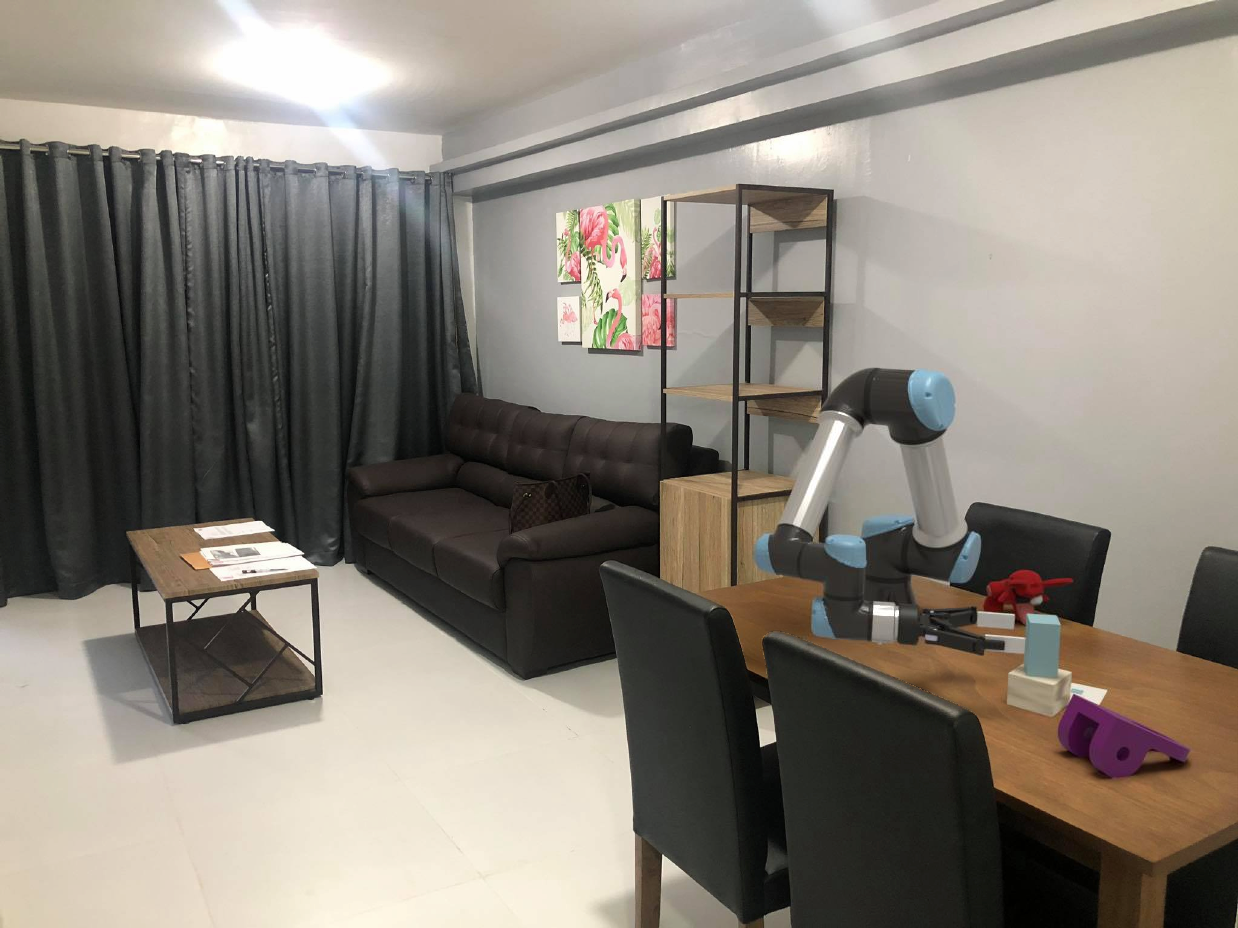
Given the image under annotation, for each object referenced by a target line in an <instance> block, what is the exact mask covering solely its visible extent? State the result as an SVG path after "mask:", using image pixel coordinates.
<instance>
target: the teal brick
mask: <svg viewBox="0 0 1238 928" xmlns="http://www.w3.org/2000/svg"><path fill="white" fill-rule="evenodd" d="M1061 626H1062V624H1061V623H1060V620H1059V618H1058V616H1057V615H1056V614H1042V613H1041V614H1037V613H1034V614H1027V615H1026V625H1025V634H1024V635H1025V637H1024V638H1025V651H1024V654H1023V655H1024V656H1023V663H1024V668H1025V671H1026V674H1027V676H1030V677H1042V678H1055V679H1058V669H1059V662H1060V661H1059V660H1060V643H1061V629H1062V627H1061Z"/></svg>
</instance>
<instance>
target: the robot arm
mask: <svg viewBox="0 0 1238 928" xmlns="http://www.w3.org/2000/svg"><path fill="white" fill-rule="evenodd" d="M955 404H956V396H955V390H954V387H953V384H952V382H951V380H950V379H949V378H948V376H946V374H944V373H942V372H940V371H938V370H936V371H935V370H928V369H926V368H920V369H919V368H917V369H902V368H901V369H900V368H883V367H882V368H880V367H867V368H864V369H860V370H857V371H855V372H854V373H852V374H850V375H849V376H847V377H846V378H845V379H843V380H842V381H841V382H840V383H839V384H838V385H837V386H836V387H835V388H834V389H833V390H832V391H831V393H830V394H829V395H828V396H827V397H826V400H825V401H824V402H823V404H822V405H821V408H820V411H819V412H818V415H817V419H816V420H817V423H818V425H819V426H818V428H817V430H816V433H815V435H814V438H813V440H812V443H811V444H810V448H809V449H808V452H807V454H806V457H805V459H804V461H803V464H802V466H801V469H800V470H799V472H798V473H799V474H798V476H797V478H796V480H795V483H794V485H793V488H792V490H791V492H790V495H789V498H788V500H787V502H786V505H785V507H784V509H783V512H782V514H781V517H780V519H779V521H778V524H777V526H776V528H775V530H774V532H773V533H763V534H761V535H760V536H759V538H758V539H757V540H756V542H755V544H754V548H753V561H754V564H755V565H756V567H757V568H758V569H759V570H761V571H762V572H765V573H769V574H773V575H776V576H783V577H784V576H785V577H789V578H790V577H791V578H795V579H800V580H805V581H809V582H814V583H819V584H822V585H823V586H822V587H823V593H822V594H823V595H820V596H816V597H814V598H813V599H812V604H811V605H812V606H811V607H812V608H811V620H810V621H811V626H810V627H811V628H810V629H811V632H812V633H813V635H814V636H815V637H819V638H826V639H834V640H843V641H844V640H845V641H846V640H848V641H859V642H860V641H861V642H871V643H872V642H875V643H876V644H877V645H879V646H880V645H882V644H884V643H886V644H893V643H894V642H895V641H896V642H897V644H898V645H903V646H917V645H918V643H919V640H920V639H919V637H922V638H924V644H926V645H934V646H940V647H943V648H949V649H952V650H956V651H959V652H960V651H961V652H964V653H970V654H975V655H977V656H985V651H986V652H987V651H988V652H995V653H996V652H997V653H1009V654H1010V653H1011V654H1020V655H1024V651H1025V637H1020V636H1011V635H998V634H984V636H983V635H980V634H977V633H973V632H970V631H966V630H965V629H960V628H962V627H966V626H971V625H973V626H974V625H976V627H977V628H978V627H980V628H990V629H991V628H992V629H994V628H995V629H1002V630H1003V629H1005V630H1015V620H1016V616H1015V613H1003V612H1002V613H992V612H985V611H978V608H977V606H974V605H971V606H964V607H950V608H948V607H947V608H923V609H922V613H920V612H921V611H920V609H921V608H920V606H919V605H918V603H917V600H916V599H917V598H916V596H915V593H914V589H913V586H912V576H917V577H921V578H926V579H931V580H937V581H942V582H945V583H946V582H947V583H956V584H957V583H958V584H964V583H965V584H966V583H968V582H969V581H970V580H971V579H972V577H973V575H974V573H975V571H976V568H977V566H978V563H979V559H980V555H981V549H982V539H981V538H982V537H981V535H980V534H979V533H977V532H975V531H969V528H968V524H967V522H966V519H965V518H964V517H963V516H961V515H959V514H958V510H957V505H956V500H955V495H954V489H953V484H952V479H951V474H950V469H949V464H948V458H947V454H946V448H945V443H944V438H943V436H944V435H945V434H946V433H947V431H948V428H949V427H950V426H951V425H952V423H953V420H954V417H955V413H956V407H955ZM869 425H875V426H885V427H887V429H888V433H889V437H890V439H891V440H892V441H893V442H894V443H895V444H897V445H899V448H900V452H901V456H902V460H903V461H902V462H903V465H904V469H905V473H906V474H905V475H906V479H907V483H908V487H909V491H910V492H909V493H910V496H911V500H912V505H913V510H914V514H915V518H914V516H913V515H910V514H904V513H903V514H899V513H896V514H894V513H893V514H882V515H881V514H880V515H874V516H871V517H868V518H866V519H864V520H863V523H862V527H861V535H860V536H857V535H852V534H841V533H840V534H838V533H837V534H832V535H829V536H827V537H826V538H825V540H824V541H825V542H818V541H814V539H815V537H816V534H817V531H818V529H819V527H820V524H821V521H822V519H823V516H824V515H825V511H826V509H827V507H828V504H829V502H830V499H831V497H832V494H833V493H834V492H833V491H834V490H835V487H836V484H837V482H838V480H839V477H840V474H841V472H842V469H843V467H844V465H845V462H846V459H847V458H848V455H849V453H850V450H851V448H852V445H853V442H854V440H855V439H857V438H859V437H861V436H862V434H863V431H864V429H865V428H866V426H869ZM915 519H916V520H915Z"/></svg>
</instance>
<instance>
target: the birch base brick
mask: <svg viewBox="0 0 1238 928" xmlns="http://www.w3.org/2000/svg"><path fill="white" fill-rule="evenodd" d="M1072 675H1073V672H1072V671H1069V670H1065V669H1061V668H1058V679H1055V678H1042V677H1030V676H1027V674H1026V671H1025V668H1024V662H1023V663H1022V664H1021V665H1019V666H1017V667H1016V668H1014V669H1013V670H1011V671H1010V672H1008V677H1007V690H1006V692H1007V695H1006V705H1008V706H1013V707H1016V708H1018V709H1022V710H1026V711H1029V712H1032V713H1036V714H1040V715H1042V716H1046V717H1049V718H1053V717H1054V716H1056V715H1057V714H1058V713H1059V712H1060V711H1062V710H1063V709H1066V708H1067V705H1068V704H1069V702H1070V692H1071V683H1072Z"/></svg>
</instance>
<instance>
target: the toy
mask: <svg viewBox="0 0 1238 928" xmlns="http://www.w3.org/2000/svg"><path fill="white" fill-rule="evenodd" d="M1071 583H1074V580H1073V578H1071V577H1070V578H1069V577H1067V578H1066V577H1063V578H1053V579H1049V580H1042V578H1041V576H1040V575H1039V574H1038V573H1037V572H1035V571H1033V570H1028V569H1020V570H1017V571H1015V572H1013V573H1011V574H1010V576H1009V578H1006V579H1002V580H1000V581H996V580H995V581H991V582H989V583H988V585H986V592H987V596H986V597H985V599H984V602H983V605H982V607H983V610H984V612H992V613H1003V612H1004V607H1005V605H1007V606H1012V608H1013V614H1015V619H1016V620H1017V621H1018V622H1020V623H1022V625H1024V626H1026V615H1027V614H1035V606H1039V605H1041V604H1042V602H1045V601H1049V600H1050V598H1049V596H1046V594H1044V591H1045V588H1055V587H1059V586H1065V585H1069V584H1071Z"/></svg>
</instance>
